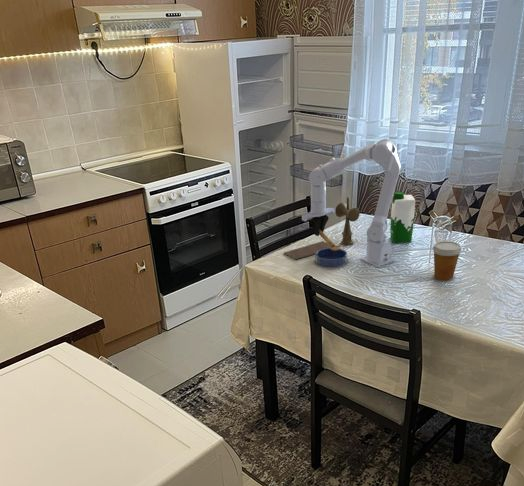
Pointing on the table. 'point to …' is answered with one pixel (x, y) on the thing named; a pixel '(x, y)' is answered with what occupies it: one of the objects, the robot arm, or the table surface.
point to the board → (307, 250)
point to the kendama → (347, 220)
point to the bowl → (330, 257)
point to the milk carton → (402, 217)
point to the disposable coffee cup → (445, 259)
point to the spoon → (329, 241)
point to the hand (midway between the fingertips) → (318, 234)
